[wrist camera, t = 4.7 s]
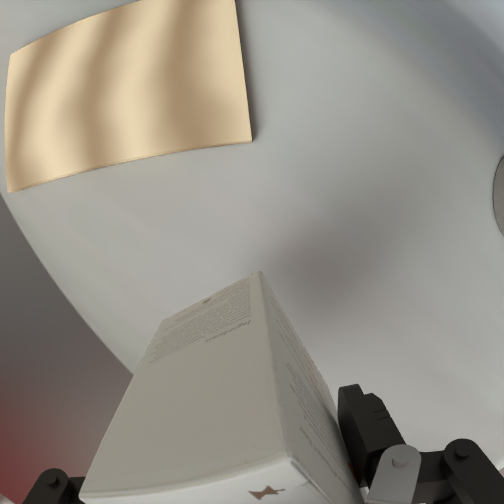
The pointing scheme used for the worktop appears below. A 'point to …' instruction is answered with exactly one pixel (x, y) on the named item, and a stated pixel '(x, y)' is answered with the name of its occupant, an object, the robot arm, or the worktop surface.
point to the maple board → (125, 90)
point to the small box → (225, 414)
